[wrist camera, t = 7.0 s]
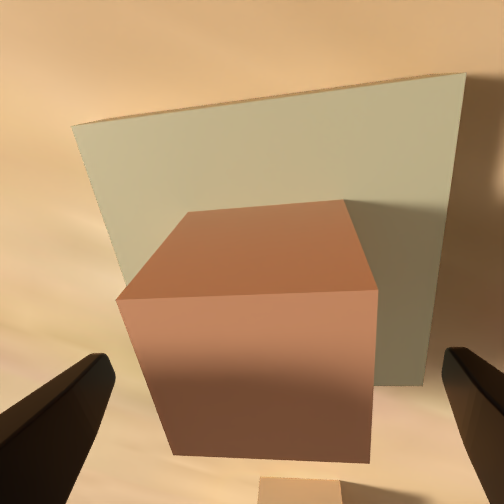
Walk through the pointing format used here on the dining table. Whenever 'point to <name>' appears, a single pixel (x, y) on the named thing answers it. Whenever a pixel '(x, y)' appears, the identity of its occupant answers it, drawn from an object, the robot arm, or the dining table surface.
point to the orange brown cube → (259, 333)
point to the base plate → (299, 183)
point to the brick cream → (298, 491)
